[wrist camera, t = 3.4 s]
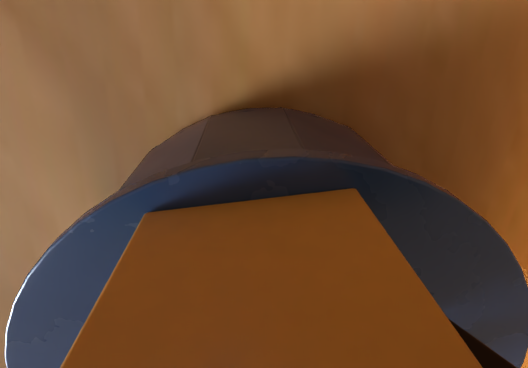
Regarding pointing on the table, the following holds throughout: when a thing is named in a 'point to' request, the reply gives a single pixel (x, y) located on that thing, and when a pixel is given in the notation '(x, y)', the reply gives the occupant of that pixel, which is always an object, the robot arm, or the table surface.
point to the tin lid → (269, 186)
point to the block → (267, 293)
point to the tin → (252, 138)
